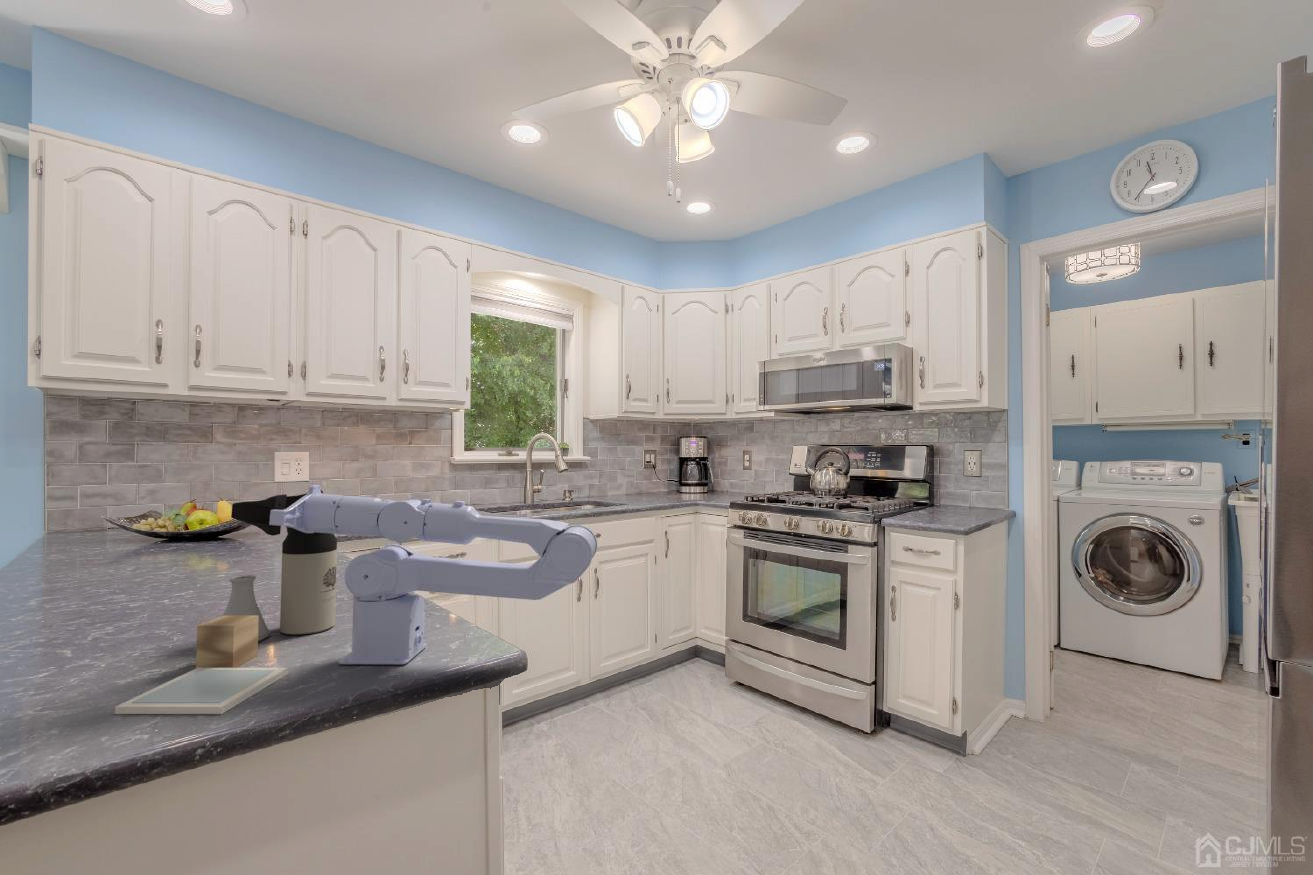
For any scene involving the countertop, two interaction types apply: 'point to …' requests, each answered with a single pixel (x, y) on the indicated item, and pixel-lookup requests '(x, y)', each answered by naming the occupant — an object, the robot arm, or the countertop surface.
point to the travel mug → (308, 582)
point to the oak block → (227, 641)
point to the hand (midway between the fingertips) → (252, 507)
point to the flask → (245, 602)
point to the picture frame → (203, 691)
